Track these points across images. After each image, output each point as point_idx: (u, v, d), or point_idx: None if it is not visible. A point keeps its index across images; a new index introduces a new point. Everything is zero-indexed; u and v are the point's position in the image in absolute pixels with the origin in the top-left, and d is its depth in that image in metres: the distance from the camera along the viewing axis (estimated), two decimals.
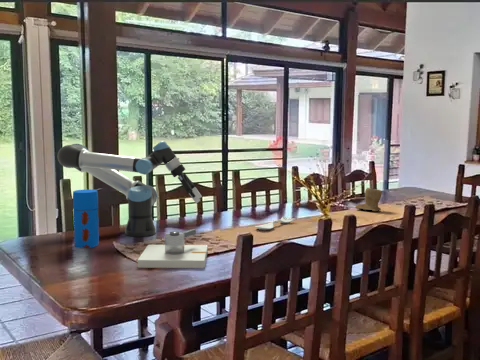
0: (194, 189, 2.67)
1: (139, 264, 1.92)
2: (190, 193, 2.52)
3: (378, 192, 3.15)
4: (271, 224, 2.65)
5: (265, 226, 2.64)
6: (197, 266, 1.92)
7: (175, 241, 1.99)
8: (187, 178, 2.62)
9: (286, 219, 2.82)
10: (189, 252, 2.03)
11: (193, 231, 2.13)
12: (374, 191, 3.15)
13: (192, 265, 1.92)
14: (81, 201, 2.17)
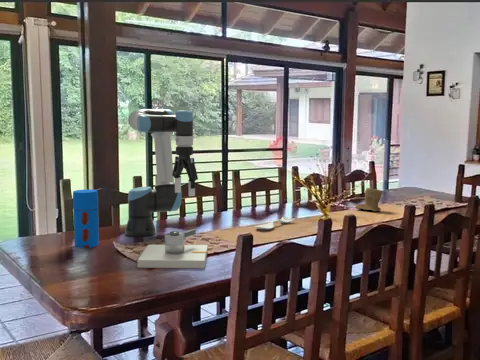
0: None
1: (139, 264, 1.92)
2: None
3: (378, 192, 3.15)
4: (271, 224, 2.65)
5: (265, 226, 2.64)
6: (197, 266, 1.92)
7: (175, 241, 1.99)
8: (183, 165, 2.13)
9: (286, 219, 2.82)
10: (189, 252, 2.03)
11: (193, 231, 2.13)
12: (374, 191, 3.15)
13: (192, 265, 1.92)
14: (81, 201, 2.17)
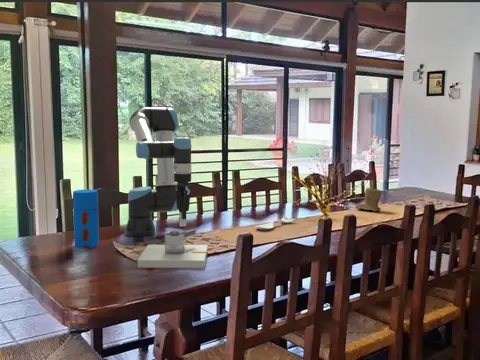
0: None
1: (139, 264, 1.92)
2: None
3: (378, 192, 3.15)
4: (271, 224, 2.65)
5: (265, 226, 2.64)
6: (197, 266, 1.92)
7: (175, 241, 1.99)
8: None
9: (287, 219, 2.82)
10: (189, 252, 2.03)
11: (193, 231, 2.13)
12: (374, 191, 3.15)
13: (192, 265, 1.92)
14: (81, 201, 2.17)
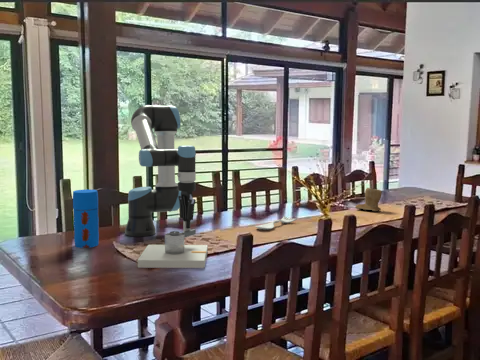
0: None
1: (139, 264, 1.92)
2: None
3: (378, 192, 3.15)
4: (272, 224, 2.65)
5: (265, 226, 2.64)
6: (197, 266, 1.92)
7: (175, 241, 1.99)
8: None
9: (287, 219, 2.82)
10: (189, 252, 2.03)
11: (193, 231, 2.13)
12: (374, 191, 3.15)
13: (192, 265, 1.92)
14: (81, 201, 2.17)
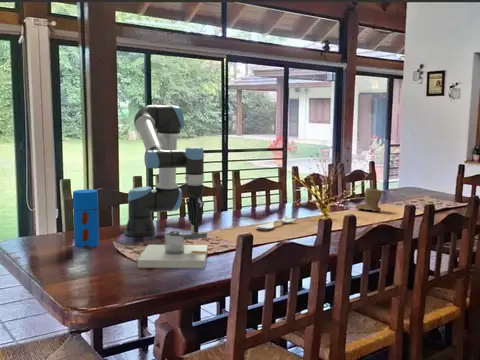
0: None
1: (139, 264, 1.92)
2: None
3: (378, 192, 3.15)
4: (272, 224, 2.66)
5: (265, 226, 2.65)
6: (197, 266, 1.92)
7: (169, 240, 1.99)
8: None
9: None
10: (189, 252, 2.03)
11: (203, 234, 2.07)
12: (374, 191, 3.15)
13: (192, 265, 1.92)
14: (81, 201, 2.17)
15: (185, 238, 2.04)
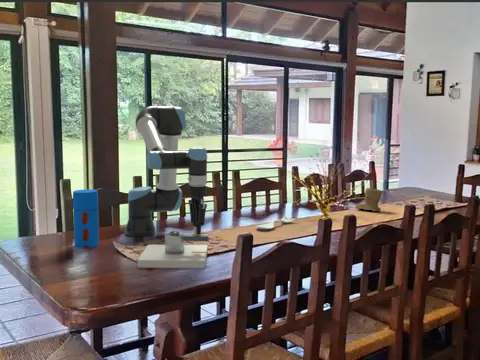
0: None
1: (139, 264, 1.92)
2: None
3: (378, 192, 3.15)
4: (272, 224, 2.66)
5: (266, 226, 2.65)
6: (197, 266, 1.92)
7: (166, 240, 2.00)
8: None
9: (287, 219, 2.82)
10: (189, 252, 2.03)
11: (204, 237, 2.02)
12: (374, 191, 3.15)
13: (192, 265, 1.92)
14: (81, 201, 2.17)
15: (185, 239, 2.02)
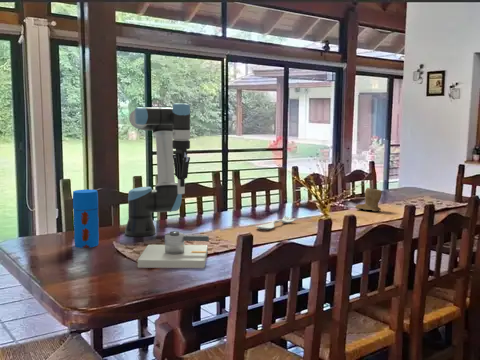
0: None
1: (139, 264, 1.92)
2: None
3: (378, 192, 3.15)
4: (272, 224, 2.66)
5: (266, 226, 2.65)
6: (197, 266, 1.92)
7: (166, 240, 2.00)
8: None
9: None
10: (189, 252, 2.03)
11: (204, 237, 2.02)
12: (374, 191, 3.15)
13: (192, 265, 1.92)
14: (81, 201, 2.17)
15: (185, 239, 2.02)
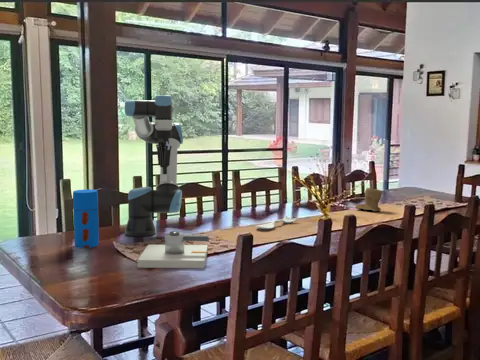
0: None
1: (139, 264, 1.92)
2: None
3: (378, 192, 3.15)
4: (272, 224, 2.66)
5: (266, 226, 2.65)
6: (197, 266, 1.92)
7: (166, 240, 2.00)
8: (161, 148, 2.23)
9: None
10: (189, 252, 2.03)
11: (204, 237, 2.02)
12: (374, 191, 3.15)
13: (192, 265, 1.92)
14: (81, 201, 2.17)
15: (185, 239, 2.02)
